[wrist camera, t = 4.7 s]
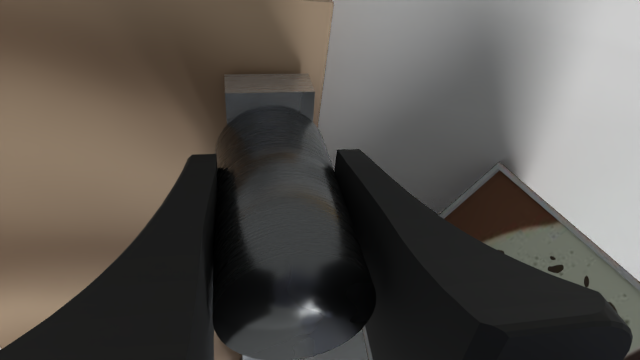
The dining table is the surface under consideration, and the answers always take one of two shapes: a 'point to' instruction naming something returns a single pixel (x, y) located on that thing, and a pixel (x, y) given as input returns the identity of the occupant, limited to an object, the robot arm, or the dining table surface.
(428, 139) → the dining table surface
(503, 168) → the food container
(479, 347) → the robot arm
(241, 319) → the lever
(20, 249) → the walnut board
